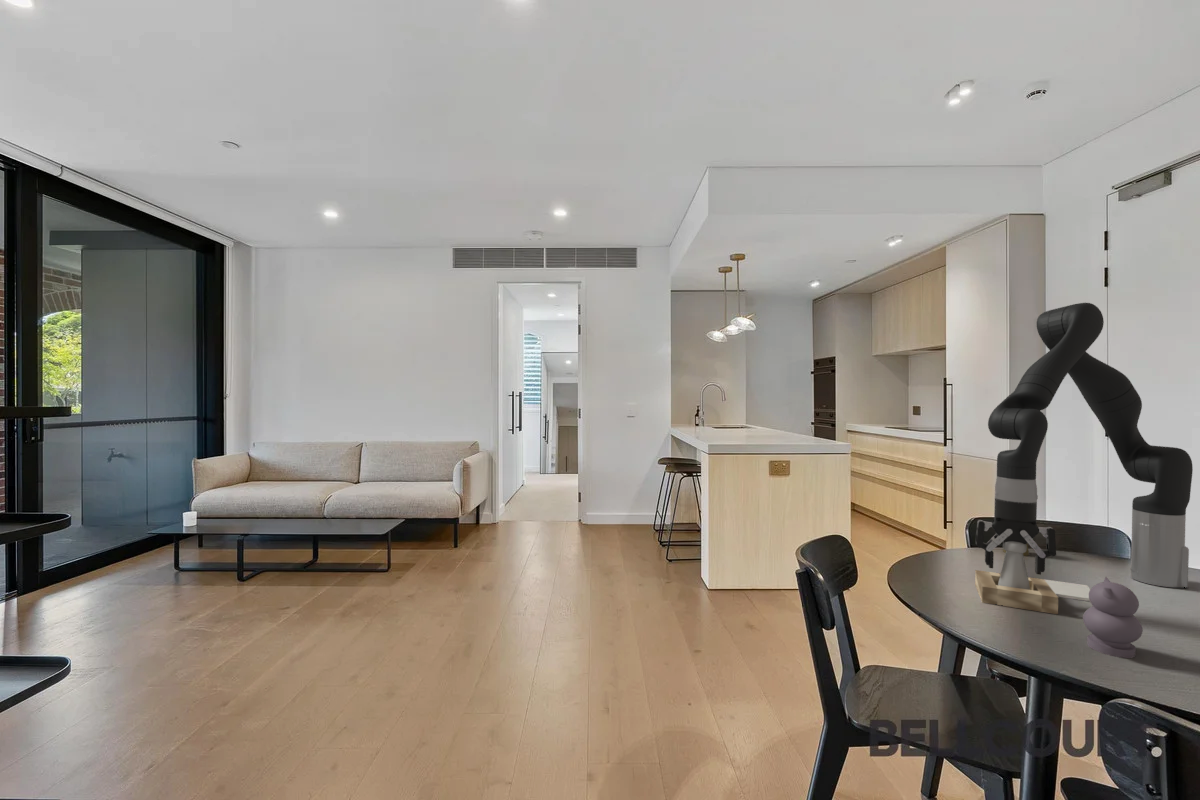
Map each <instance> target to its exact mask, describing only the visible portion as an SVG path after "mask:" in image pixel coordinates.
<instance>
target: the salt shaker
mask: <svg viewBox="0 0 1200 800" xmlns="http://www.w3.org/2000/svg"><path fill="white" fill-rule="evenodd" d="M1003 549H1004V550H1006V553H1005V552H1004V553H1005V554H1004V558H1003V564H1002V567H1001V571H1000V573H1001V574H1000V578H999V582H998V585H999V586H1006V587H1013V588H1020V589H1027V590H1030V585H1029V580H1028V577H1029V574H1028V572H1027V566H1026V561H1025V556H1024V555H1023V553H1025V552H1026V550H1027V546H1026V544H1023V543H1020V542H1013V541H1009V542H1004V541H1003V542H1002V550H1003Z"/></svg>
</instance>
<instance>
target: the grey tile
mask: <svg viewBox="0 0 1200 800" xmlns="http://www.w3.org/2000/svg"><path fill="white" fill-rule="evenodd" d="M1044 580H1045V581H1046V582H1047V584H1048V585H1049V586H1050V588H1051V589H1052V590H1053V591H1054V593H1055V594H1056V595H1057V597H1058V598H1065V599H1072V600H1079V601H1085V602H1090V600H1089V591H1090V589H1091V588H1090V587H1089V586H1088V585H1087V584H1079V583H1073V582H1067V581H1065V582H1064V581H1059V580H1058V581H1057V580H1053V579H1051V580H1050V579H1044Z"/></svg>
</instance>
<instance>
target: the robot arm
mask: <svg viewBox="0 0 1200 800" xmlns="http://www.w3.org/2000/svg"><path fill="white" fill-rule="evenodd" d="M1104 324H1105V323H1104V316H1103V313H1102V311H1101V309H1099V307H1098V306H1096V305H1095V304H1094V303H1091V302H1080V303H1079V302H1078V303H1073V304H1070V305H1069V304H1068V305H1066V306H1062V307H1058V308H1054V309H1050V310H1047V311H1044V312H1042V313H1041V314H1039V316H1038V317H1037V319H1036V331H1037V333H1038V336H1039V337H1040V340H1041V341H1042V342H1043V344H1044V345H1045V347H1046V348H1047V349H1048V350H1049V351H1047V352H1045V354H1043V355H1042V356H1041V357H1040V358H1038V360H1036V361H1035V362H1034V363H1033V364H1032V365H1030V366H1029V367H1028V368H1027V370H1025V372H1024V374H1023V375H1022V376H1021V378H1020V380H1019V382H1018V384H1017V386H1016V387H1015V389H1014V391H1012V393H1010V394H1009V395H1008V396H1007V397H1006V398H1005V399H1003V400H1002V401H1001V402H1000V403H999V404H998V405H997V406H996V407H995V408H994V409H993V411H991V413H990V415H989V418H988V420H987V421H988V422H987V427H988V430H989V432H990V434H991V435H992V436H993V437H995V438H997V439H1002V440H1014V441H1020V443H1019V444H1018V446H1017V448H1016V449H1007V450H1002V451H999V452H998V454H997V458H996V478H995V484H994V511H993V512H994V517H993V520H992V521H985V520H982V519H978V520H977V521H976V532H975V539H974V540H975V542H974V543H975V545H976V547H977V548H979V549H983V550H984V563H985V564H986V566H988V568H989V569H994V554H995V553H994V551H993V550H994V549H996V548H997V547H998V546H1000V545H1001V543H1002V544H1003V541H1004V542H1009V541H1013V542H1020V543H1023V544H1027V543H1028V546H1030V548H1031V549H1032V550H1033V551H1034V552H1035V553H1036V555H1034V557H1035V560H1034V561H1035V562H1034V572H1035V574H1036V575H1040V576H1041V575H1042V573H1044V572H1045V570H1046V558H1049V557H1056V556H1057V546H1056V545H1057V543H1056V531H1055V529H1054V528H1053V527H1051V526H1046V527H1041V526H1038V525H1037V516H1038V515H1037V513H1038V512H1037V509H1038V506H1037V505H1038V497H1039V495H1038V487H1037V486H1038V485H1037V480H1036V479H1037V462H1038V461H1037V460H1038V457H1039V455H1040V451H1041V447H1042V444H1043V443H1044V439H1045V438H1046V435H1047V432H1048V429H1049V428H1048V427H1049V422H1048V419H1047V417H1046V415H1045V414H1044V412H1042V411H1044V410H1046V409H1047V408H1048V407H1049V406H1050V404H1051V403H1052V400H1053V399H1054V397H1055V395H1056V394H1057V391H1058V390H1059V388H1060V386H1061V384H1062V382H1063V380H1064V379H1065V377H1066V376H1067V375H1069V377H1070V379H1071V380H1072V382H1074V384H1075V385H1076V387H1077V389H1078V390H1079V392H1080V393H1081V395H1082V397H1083V399H1084V400H1085V402H1086V403H1087V405H1088V407H1089V409H1090V410H1091V411H1092V412H1093V414H1094V415H1095V416H1096V419H1098V422H1100V425H1101V426H1102V428H1103V430H1104V432H1105V433H1106V434H1107V436H1108V438H1109V439H1110V442H1111V444H1112V446H1113V448H1114V450H1115V453H1116V455H1117V457H1118V459H1119V461H1120V463H1121V466H1123V468H1124V470H1125V472H1126V473H1127V474H1128V476H1130V477H1131V478H1132V479H1134V480H1136V481H1139V482H1144V483H1150V484H1154V489H1153V492H1151V493H1149V494H1147V495H1141V496H1136V497H1133V499H1132V506H1131V507H1132V509H1131V510H1132V511H1131V548H1130V549H1131V551H1130V552H1131V553H1130V555H1131V556H1130V577H1131V579H1133V580H1135V581H1138V582H1141V583H1145V584H1148V585H1153V586H1159V587H1167V588H1184V587H1185V589H1188V588H1189V562H1190V561H1189V558H1190V557H1189V556H1190V549H1189V547H1188V546H1186V520H1187V519H1186V516H1187V515H1186V513H1187V512H1186V511H1187V508H1188V505H1189V503H1190V500H1191V493H1192V491H1191V489H1192V480H1193V479H1192V478H1193V461H1192V458H1191V456H1190V454H1189V453H1188V452H1187V451H1186V450H1185V449H1183V448H1178V447H1172V446H1162V445H1161V446H1160V445H1153V444H1152V445H1151V444H1149V443H1148V442H1147V441H1146V440H1145V439H1144V437H1143V436H1142V433H1141V432H1140V429H1139V428H1138V422H1139V420H1140V416H1141V413H1142V409H1143V403H1142V398H1141V397H1140V394H1139V393H1138V391H1137V390H1136V388H1135V386H1134V385H1133V384H1132V382H1131V380H1130V379H1129V377H1128V376H1126V375H1125V374H1124V373H1123V372H1121V371H1119V370H1118V369H1116V368H1114V367H1112V366H1111V365H1108V363H1105V362H1103V361H1101V360H1099V359H1098V358H1096V357H1094V356H1092V355H1091V354H1090V353H1088V352H1087V351H1088V350H1089V349H1090V347H1091V346H1092V345H1093V344H1094V343H1095V341H1096V340H1097V339H1098V338H1099V336H1100V334H1101V333H1102V331H1103V329H1104ZM990 528H992V529H993V530H994V532H995V534H994V535H993V536H992V537H991V538H990V539H989V540H988V541H987V542H984V537H985V532H988V530H989V529H990ZM1040 533H1041V535H1042V536H1043V537H1044V538H1045V544H1046V546H1045V547H1046V548H1045V549H1042V548H1041V547H1040V546H1039V545H1038V544H1037V542H1036V541H1034V538H1035V537H1036V536H1037V535H1038V534H1040ZM1186 587H1187V588H1186Z"/></svg>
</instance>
